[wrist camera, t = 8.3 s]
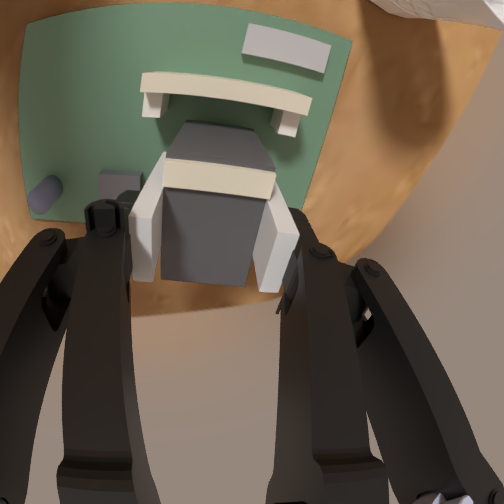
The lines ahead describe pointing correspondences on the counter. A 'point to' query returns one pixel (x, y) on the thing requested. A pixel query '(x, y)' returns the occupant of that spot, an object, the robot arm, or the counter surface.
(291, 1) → the counter surface
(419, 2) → the white cup
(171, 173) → the plug
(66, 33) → the board
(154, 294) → the counter surface
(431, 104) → the counter surface
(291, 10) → the counter surface
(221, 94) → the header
